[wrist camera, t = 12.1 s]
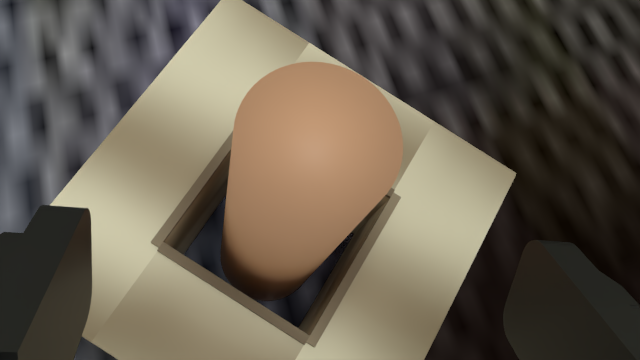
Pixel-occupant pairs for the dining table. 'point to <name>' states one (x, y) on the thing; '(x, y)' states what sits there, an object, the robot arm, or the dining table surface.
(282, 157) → the peg
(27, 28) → the dining table surface
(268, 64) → the socket
